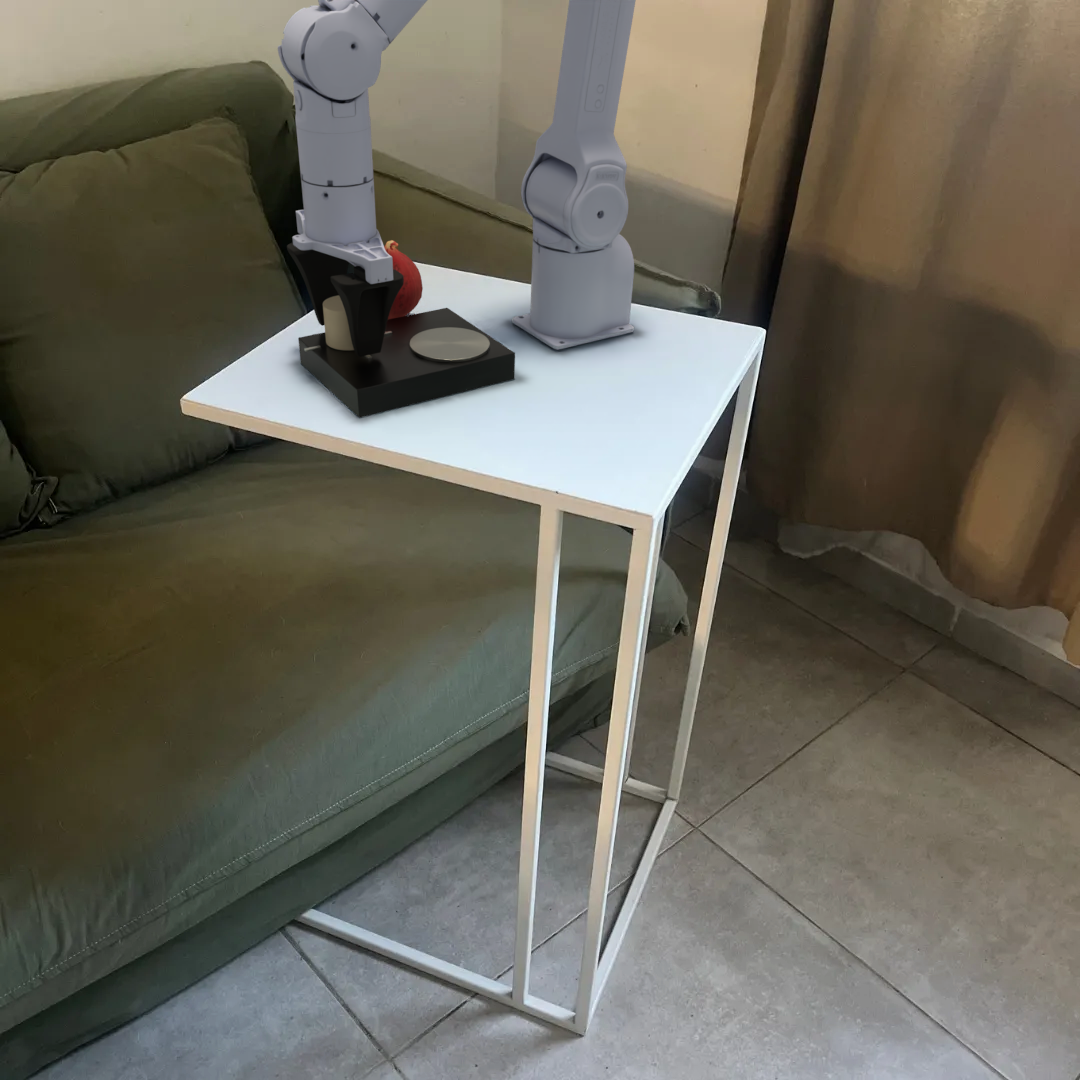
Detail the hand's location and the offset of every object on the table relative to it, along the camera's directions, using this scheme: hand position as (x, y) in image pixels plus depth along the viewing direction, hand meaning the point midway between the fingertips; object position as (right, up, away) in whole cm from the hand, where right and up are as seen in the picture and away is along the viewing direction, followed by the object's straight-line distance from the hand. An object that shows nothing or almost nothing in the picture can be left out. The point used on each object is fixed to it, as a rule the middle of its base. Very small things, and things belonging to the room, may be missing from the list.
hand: (349, 337), depth 88 cm
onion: (+2, +3, +11) cm, 11 cm away
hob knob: (0, 0, 0) cm, 0 cm away
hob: (+5, -3, +2) cm, 6 cm away
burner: (+9, -1, 0) cm, 9 cm away
